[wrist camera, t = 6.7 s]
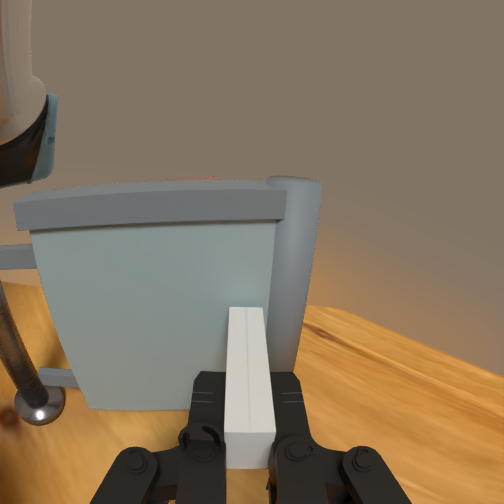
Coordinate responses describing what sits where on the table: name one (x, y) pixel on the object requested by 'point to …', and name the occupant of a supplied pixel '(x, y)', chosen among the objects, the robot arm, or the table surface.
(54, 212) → the gate
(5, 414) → the table surface
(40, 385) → the gate posts
